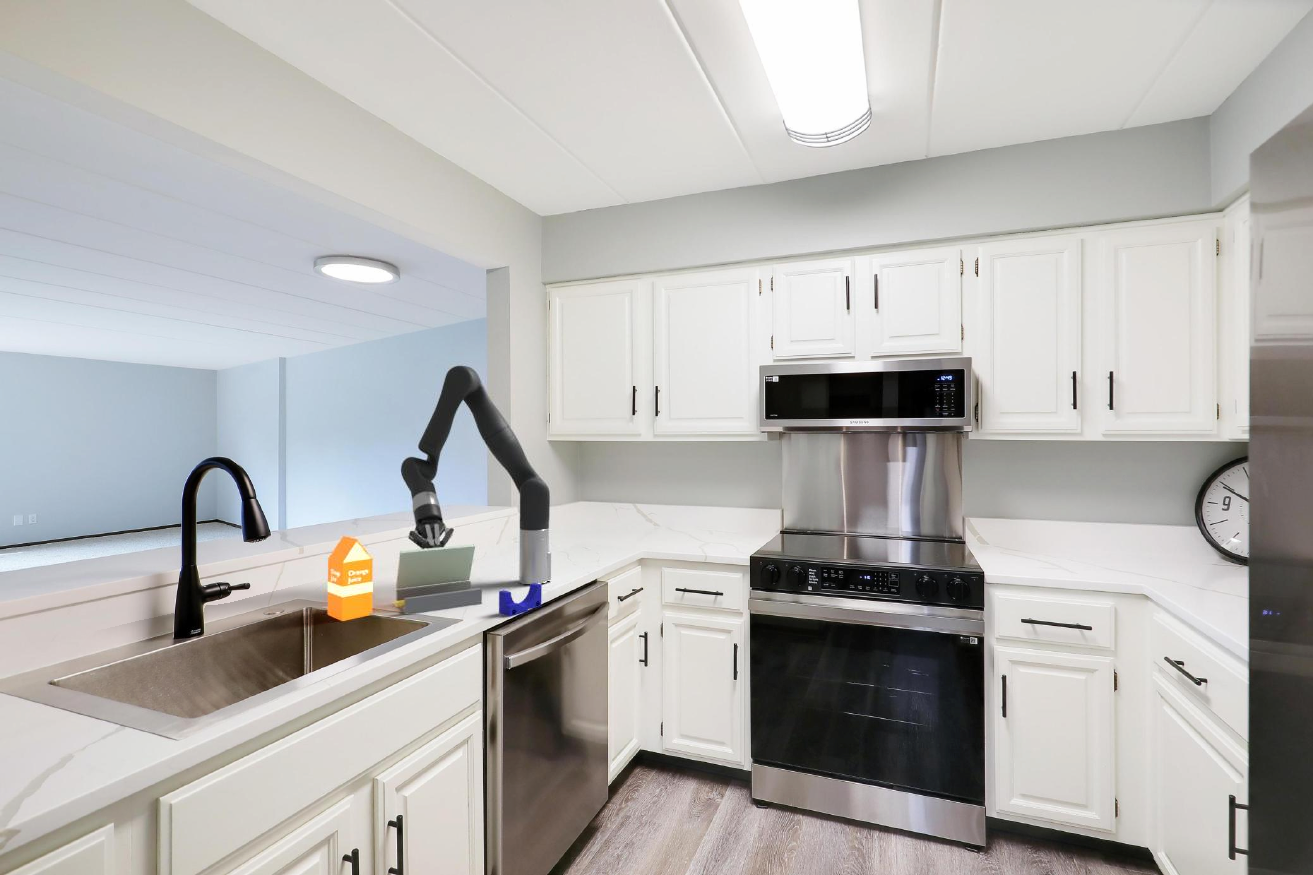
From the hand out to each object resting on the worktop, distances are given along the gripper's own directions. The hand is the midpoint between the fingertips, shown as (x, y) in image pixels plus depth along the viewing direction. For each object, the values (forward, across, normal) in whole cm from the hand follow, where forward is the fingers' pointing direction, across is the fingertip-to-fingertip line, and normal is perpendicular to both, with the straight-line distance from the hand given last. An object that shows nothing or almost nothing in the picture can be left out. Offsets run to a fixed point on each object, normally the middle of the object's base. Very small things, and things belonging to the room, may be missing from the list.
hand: (436, 558), depth 169 cm
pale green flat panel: (+2, 0, +2) cm, 2 cm away
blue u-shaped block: (+24, +17, -6) cm, 30 cm away
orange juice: (+10, -22, +8) cm, 25 cm away
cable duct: (+11, 0, +6) cm, 12 cm away
